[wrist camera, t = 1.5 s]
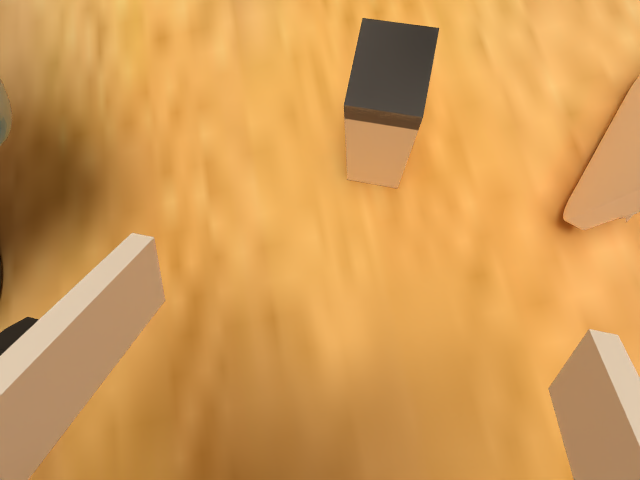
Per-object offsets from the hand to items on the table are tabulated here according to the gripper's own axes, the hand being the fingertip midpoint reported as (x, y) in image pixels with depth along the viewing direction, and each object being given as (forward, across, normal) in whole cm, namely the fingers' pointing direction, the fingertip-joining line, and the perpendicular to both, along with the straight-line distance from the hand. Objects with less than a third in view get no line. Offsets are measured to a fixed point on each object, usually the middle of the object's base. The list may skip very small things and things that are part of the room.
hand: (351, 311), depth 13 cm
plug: (+22, -1, -4) cm, 22 cm away
